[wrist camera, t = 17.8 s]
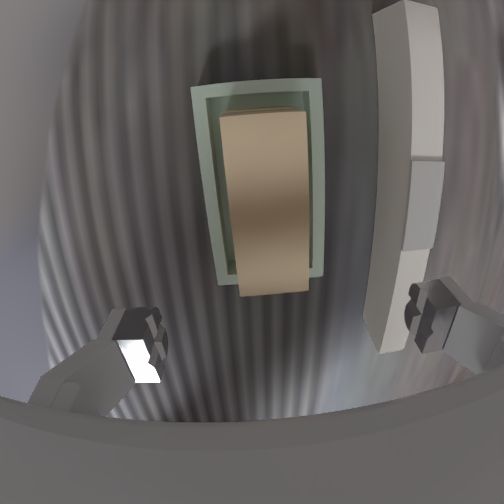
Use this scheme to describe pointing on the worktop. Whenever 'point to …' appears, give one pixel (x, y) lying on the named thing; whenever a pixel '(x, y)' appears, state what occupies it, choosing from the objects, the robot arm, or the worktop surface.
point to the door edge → (405, 163)
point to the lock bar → (268, 197)
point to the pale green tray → (212, 161)
